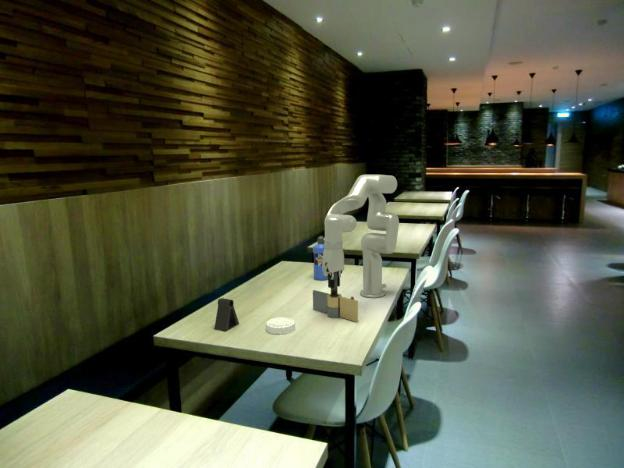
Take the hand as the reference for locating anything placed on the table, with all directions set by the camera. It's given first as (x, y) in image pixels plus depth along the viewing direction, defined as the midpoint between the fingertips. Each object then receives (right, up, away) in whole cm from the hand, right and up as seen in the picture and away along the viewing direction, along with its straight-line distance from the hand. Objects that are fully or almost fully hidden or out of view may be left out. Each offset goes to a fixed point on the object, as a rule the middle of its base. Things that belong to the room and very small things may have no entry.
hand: (334, 286), depth 191 cm
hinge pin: (0, -3, 0) cm, 3 cm away
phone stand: (-45, -16, -8) cm, 49 cm away
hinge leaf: (+4, -13, -1) cm, 14 cm away
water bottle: (-4, -3, +63) cm, 63 cm away
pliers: (+2, -11, +17) cm, 20 cm away
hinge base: (-3, -13, +5) cm, 14 cm away
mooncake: (-22, -16, -12) cm, 30 cm away
